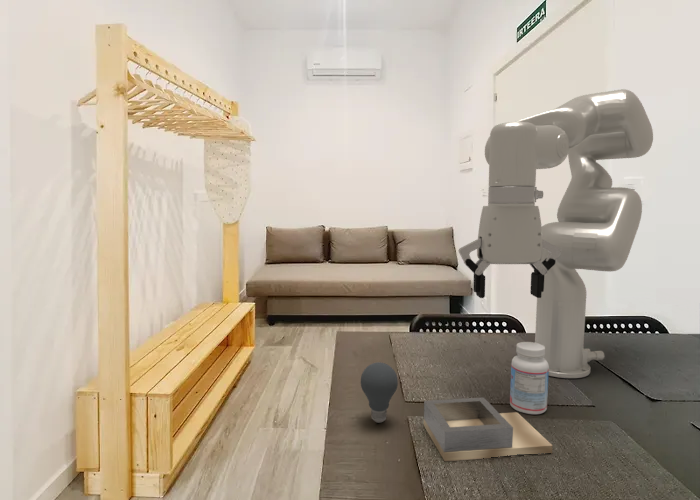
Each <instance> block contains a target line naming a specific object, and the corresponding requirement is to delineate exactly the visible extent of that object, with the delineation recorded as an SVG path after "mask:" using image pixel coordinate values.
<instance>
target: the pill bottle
mask: <svg viewBox="0 0 700 500" xmlns="http://www.w3.org/2000/svg"><path fill="white" fill-rule="evenodd" d="M515 347H516V350H515V352H516V354H517V355H514V356H513V358H512V359H511V364H510V365H511V366H510V367H511V368H510V388H509V389H510V390H509V404H510V406H511V408H512V409H514V410H515V411H517V412H520V413H523V414H528V415H541V414H543V413H545V412H546V411H547V409H548V397H549V396H548V393H549V392H548V391H549V376H548V375H549V365H548V362H547V361H546V360H545V359H544V358H543V357H544V355H545V347H544V346H543V345H541V344H538V343H535V341H534V342H532V341H521V342H518V343H516V346H515Z"/></svg>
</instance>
